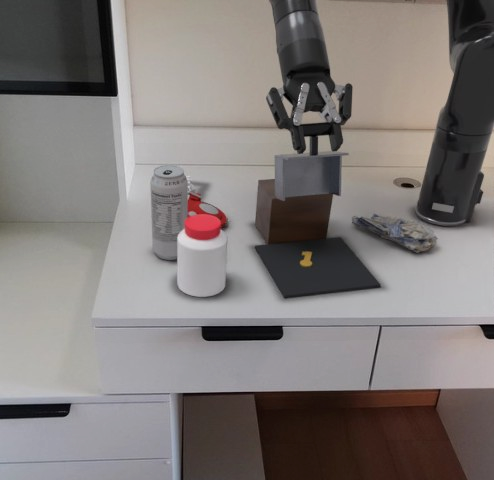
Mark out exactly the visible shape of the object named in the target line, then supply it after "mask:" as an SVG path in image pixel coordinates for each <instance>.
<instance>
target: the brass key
mask: <svg viewBox="0 0 494 480" xmlns="http://www.w3.org/2000/svg"><path fill="white" fill-rule="evenodd" d="M311 255H312V252H308V251H306V252H304V251H303V252H302V256H305V258H304V260H302V261H300V265H301V266H303V267H311V266H312V262H311V261H310V259H311Z"/></svg>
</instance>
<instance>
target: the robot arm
mask: <svg viewBox="0 0 494 480" xmlns="http://www.w3.org/2000/svg"><path fill="white" fill-rule="evenodd" d="M268 2H269V4H270V7H271V12H272V19H273V25H274V29H275V45H276V54H277V57H278V63H279V68H280V74H281V81H282V83H283V85H282V87H279V88H277V87H275V86H274V87H273V86H272V87H271V88H270V89H269V91H268V93H267V95H266V97H265V100H266V103H267V105H268V108H269V110H270V112H271V114H272V117H273V120H274V122H275V124H276V127H277V128H278V130H284V129H285V130H287V131H289V133H290V139H291V144H292V148H293V151H296V154H303V153H305V152H306V150H307V144H306V137H304V132H303V126H300V124H302V119H303V114H305V113H309V112H312V113H317V114H318V115H319V117H320V119H322V120H324V122H330V124H331V133H330V135H328V139H329V144H330V151H336V152H338V150H340V148H341V147H342V145H343V144H344V137H343V130H342V126H345V124H346V123H347V122H348V121H349V120H350V118H351V117H352V110H353V109H352V107H353V105H352V104H353V85H352V84H351V83H349V82H347V83H346V84H345V85H341V84H336V83H335V81H334V80H333V78H332V76H331V65H330V59H329V55H328V50H327V49H328V48H327V45H326V38H325V33H324V28H323V26H322V23H321V19H320V16H319V10H318V6H317V5H318V4H317V0H268ZM445 2H446V3H445V4H446V11H447V27H448V61H449V66H450V69H451V71H452V73H453V75H452V80H451V84H450V87H449V91H448V95H447V99H446V102H445V104H444V106H442V107H441V108H440V110H439V113H438V116H437V117H438V118H437V121H436V126H435V129H434V134H433V138H432V142H431V146H430V151H429V153H428V154H429V155H428V159H427V162H426V166H425V171H424V175H423V179H422V183H421V187H420V191H419V196H418V200H417V203H416V206H415V209H414V213H415V215H416V216H417V218H418V219H420V220H422V221H423V222H426V223H428V224H431V225H436V226H441V227H442V226H443V227H457V226H460V225H464V224H465V223H471V222H472V218H473V215H474V211H475V207H476V205H478V204H479V205H480V204H481V201H482V199H483V195H484V191H483V190H482V189H481V188H482V185H483V181H484V178H485V174H484V172H483V171H482V169H483V168H482V167H483V165H484V161H485V158H486V154H487V152H488V148H489V144H490V141H491V137H492V134H493V131H494V0H445ZM333 94H334V95H335V98H336V101H338V110H337V108H336V107H337V106H336V103H335V101H334V99H332V95H333ZM284 98H285V100H287V102H288V103H290V104H291V106H292V107H291V112H290V116H289V115H288V112H287V109H286V107H285V105H284V102H283V101H284Z"/></svg>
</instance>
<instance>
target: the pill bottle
mask: <svg viewBox="0 0 494 480" xmlns="http://www.w3.org/2000/svg"><path fill="white" fill-rule="evenodd" d="M184 226H185V228H184V229H183V230H182V231H181V232H180V233H179V234H178V236H177V259H176V273H177V274H176V283H177V287H178V289H179V290H180V291H181V292H183V293H184V294H186V295H189V296H192V297H196V298H197V297H198V298H208V297H212V296H216V295H218V294H221V292H223V290H224V289H225V287H226V282H227V281H226V280H227V265H228V264H227V261H228V260H227V259H228V241H229V239H228V234H227V233H226V232H225V231H224V230H222V228H221V221H220V220H219V219H218V218H217V217H215V216H212V215H208V214H197V215H192V216H190V217H188V218H187V219H186V220H185V222H184Z"/></svg>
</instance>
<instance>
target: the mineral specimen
mask: <svg viewBox="0 0 494 480" xmlns="http://www.w3.org/2000/svg"><path fill="white" fill-rule="evenodd" d="M351 224H352V225H354V226H357V227H360V228H362V229H365V230H367V231H370V232H372V233H375V234H377V235H379V236H380V238H381V239H385V240H388V241H392V242H395V243H397V244H399V245H400V246H402V247H404V248H406V249H408V250H409V251H413V252H414V253H416V254H418V253H421V252H425V251H428V250H430V248H432V247H433V246H434V245H436V244H437V240H438V236H437V235H436V234H435V232H434V230H433V229H432V228H431V227H429V226H428V225H427V224H425V222H424V221H416V222H415V221H410V220H406V219H404V218H403V219H402V218H400V217H382V216H380V215H378V214H375V213H373V215H372V216H371V217H370V218H368V217H364V216H363V215H361V216H356V215H353V216H352V217H351Z"/></svg>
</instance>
